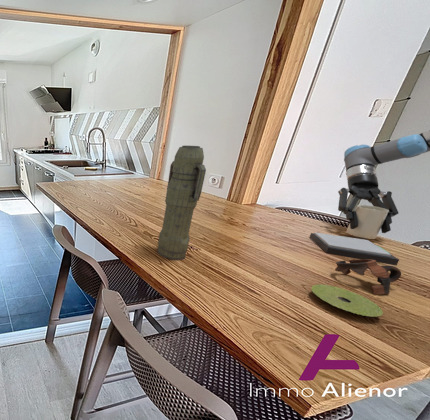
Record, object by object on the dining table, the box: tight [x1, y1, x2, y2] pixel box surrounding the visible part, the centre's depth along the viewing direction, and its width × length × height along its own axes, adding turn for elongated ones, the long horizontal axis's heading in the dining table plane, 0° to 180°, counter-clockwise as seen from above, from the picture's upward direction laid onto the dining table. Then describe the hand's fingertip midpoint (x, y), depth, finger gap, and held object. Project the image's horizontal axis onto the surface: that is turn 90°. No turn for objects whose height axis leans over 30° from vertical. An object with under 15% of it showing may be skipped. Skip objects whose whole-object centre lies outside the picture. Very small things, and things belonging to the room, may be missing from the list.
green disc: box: [310, 283, 384, 318], centre depth 58 cm, size 11×11×2 cm
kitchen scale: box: [309, 231, 400, 266], centre depth 85 cm, size 16×14×3 cm
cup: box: [346, 204, 389, 240], centre depth 92 cm, size 7×7×11 cm
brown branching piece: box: [334, 258, 402, 295], centre depth 66 cm, size 12×10×8 cm
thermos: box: [156, 145, 207, 261], centre depth 76 cm, size 9×12×35 cm
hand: (369, 229), depth 90 cm, fingers closed on cup, 7 cm apart
